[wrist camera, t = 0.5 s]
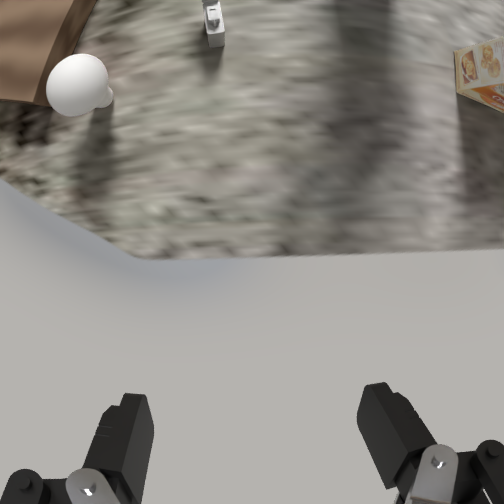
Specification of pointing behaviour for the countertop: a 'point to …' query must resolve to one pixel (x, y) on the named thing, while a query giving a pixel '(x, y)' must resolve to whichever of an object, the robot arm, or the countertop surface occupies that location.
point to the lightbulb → (78, 85)
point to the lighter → (214, 23)
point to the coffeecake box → (482, 72)
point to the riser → (36, 44)
